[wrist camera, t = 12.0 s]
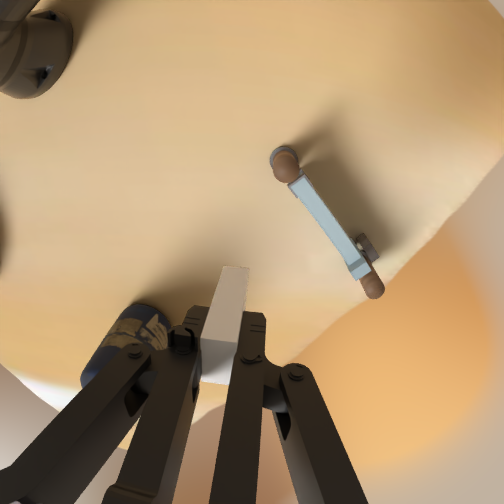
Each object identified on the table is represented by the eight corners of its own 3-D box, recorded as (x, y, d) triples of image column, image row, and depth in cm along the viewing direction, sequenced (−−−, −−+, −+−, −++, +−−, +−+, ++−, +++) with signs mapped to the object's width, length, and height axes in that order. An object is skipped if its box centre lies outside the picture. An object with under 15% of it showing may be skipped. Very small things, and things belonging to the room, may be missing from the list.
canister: (185, 335, 49) (154, 421, 33) (146, 351, 51) (110, 428, 35) (150, 291, 46) (101, 372, 29) (112, 311, 48) (62, 384, 32)
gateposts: (264, 158, 37) (261, 167, 29) (291, 136, 35) (296, 140, 28) (355, 275, 42) (369, 306, 35) (380, 258, 41) (398, 287, 34)
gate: (285, 177, 37) (288, 190, 30) (299, 166, 37) (305, 177, 30) (343, 254, 41) (355, 281, 34) (356, 245, 40) (371, 270, 33)
